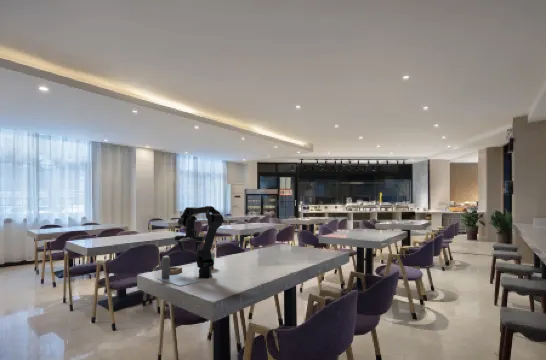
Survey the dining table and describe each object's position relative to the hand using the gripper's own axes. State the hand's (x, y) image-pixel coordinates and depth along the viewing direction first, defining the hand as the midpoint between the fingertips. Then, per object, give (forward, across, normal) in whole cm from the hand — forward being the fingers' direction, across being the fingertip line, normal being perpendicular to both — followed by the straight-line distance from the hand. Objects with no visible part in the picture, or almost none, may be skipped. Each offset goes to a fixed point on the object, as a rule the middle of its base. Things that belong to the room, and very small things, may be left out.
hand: (189, 252), depth 196 cm
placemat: (+13, -2, +18) cm, 22 cm away
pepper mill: (+13, +7, +16) cm, 22 cm away
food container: (+13, -8, -14) cm, 21 cm away
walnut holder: (+13, +11, +1) cm, 17 cm away
